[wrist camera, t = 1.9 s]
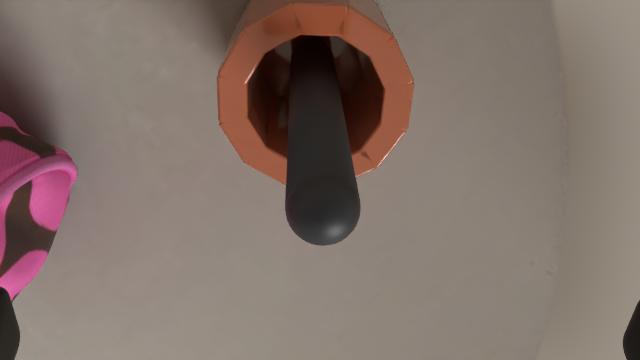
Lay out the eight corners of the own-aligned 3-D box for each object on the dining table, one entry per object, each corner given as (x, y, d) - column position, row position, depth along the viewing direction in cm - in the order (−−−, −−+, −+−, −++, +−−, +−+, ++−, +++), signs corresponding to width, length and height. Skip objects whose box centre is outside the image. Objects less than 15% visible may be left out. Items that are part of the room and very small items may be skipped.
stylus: (340, 47, 19) (379, 218, 10) (317, 81, 19) (335, 272, 10) (305, 25, 18) (312, 181, 9) (283, 60, 19) (269, 239, 10)
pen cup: (417, 26, 19) (452, 74, 15) (332, 143, 21) (341, 216, 17) (286, -64, 18) (282, -40, 13) (208, 72, 20) (183, 131, 15)
